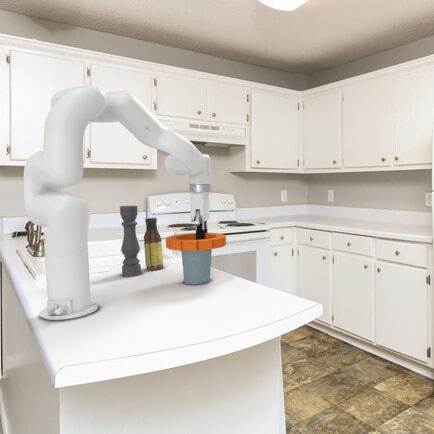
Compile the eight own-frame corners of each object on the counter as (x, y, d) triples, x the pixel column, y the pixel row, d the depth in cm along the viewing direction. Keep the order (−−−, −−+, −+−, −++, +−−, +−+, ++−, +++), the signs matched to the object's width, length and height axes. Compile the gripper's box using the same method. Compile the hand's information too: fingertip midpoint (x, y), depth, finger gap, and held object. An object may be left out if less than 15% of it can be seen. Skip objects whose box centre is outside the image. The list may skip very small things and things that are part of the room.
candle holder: (133, 277, 144) (130, 206, 142) (118, 276, 146) (114, 206, 143) (144, 272, 150) (141, 205, 148) (130, 272, 152) (126, 205, 149)
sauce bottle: (165, 266, 160) (164, 216, 158) (159, 270, 154) (157, 218, 152) (149, 266, 161) (147, 216, 158) (142, 270, 154) (139, 218, 152)
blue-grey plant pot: (198, 276, 146) (197, 243, 145) (219, 280, 141) (218, 246, 140) (175, 282, 137) (174, 247, 136) (196, 286, 132) (195, 250, 131)
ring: (220, 250, 129) (220, 241, 129) (158, 251, 128) (158, 241, 127) (229, 240, 148) (229, 232, 148) (176, 241, 147) (175, 232, 146)
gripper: (195, 188, 152) (196, 237, 154) (183, 190, 135) (185, 244, 137) (215, 188, 152) (216, 237, 154) (206, 190, 136) (207, 244, 138)
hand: (201, 240), depth 146 cm, fingers closed on ring, 2 cm apart
